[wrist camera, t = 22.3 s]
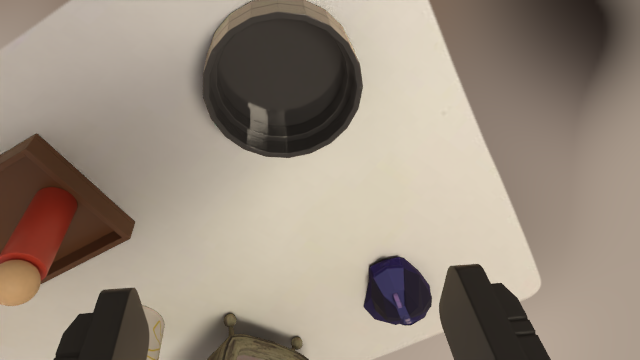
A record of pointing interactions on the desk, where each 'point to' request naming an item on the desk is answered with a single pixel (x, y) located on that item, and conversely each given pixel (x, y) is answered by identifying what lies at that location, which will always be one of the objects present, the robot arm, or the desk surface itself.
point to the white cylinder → (154, 332)
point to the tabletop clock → (254, 347)
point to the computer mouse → (397, 292)
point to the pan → (281, 78)
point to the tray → (55, 171)
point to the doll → (34, 244)
